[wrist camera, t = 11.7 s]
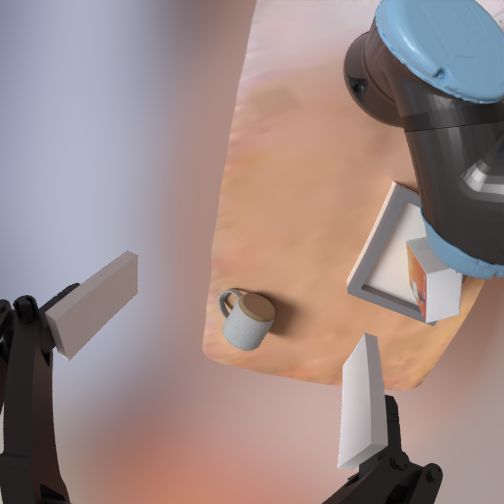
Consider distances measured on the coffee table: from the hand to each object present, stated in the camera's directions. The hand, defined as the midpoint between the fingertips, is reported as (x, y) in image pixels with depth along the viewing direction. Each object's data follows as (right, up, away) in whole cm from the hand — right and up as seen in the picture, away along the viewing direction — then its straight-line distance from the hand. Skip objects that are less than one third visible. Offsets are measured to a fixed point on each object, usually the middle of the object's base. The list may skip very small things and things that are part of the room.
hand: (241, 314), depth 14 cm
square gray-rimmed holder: (+27, +3, +25) cm, 37 cm away
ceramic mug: (0, -7, +37) cm, 38 cm away
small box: (+27, +2, +23) cm, 36 cm away
